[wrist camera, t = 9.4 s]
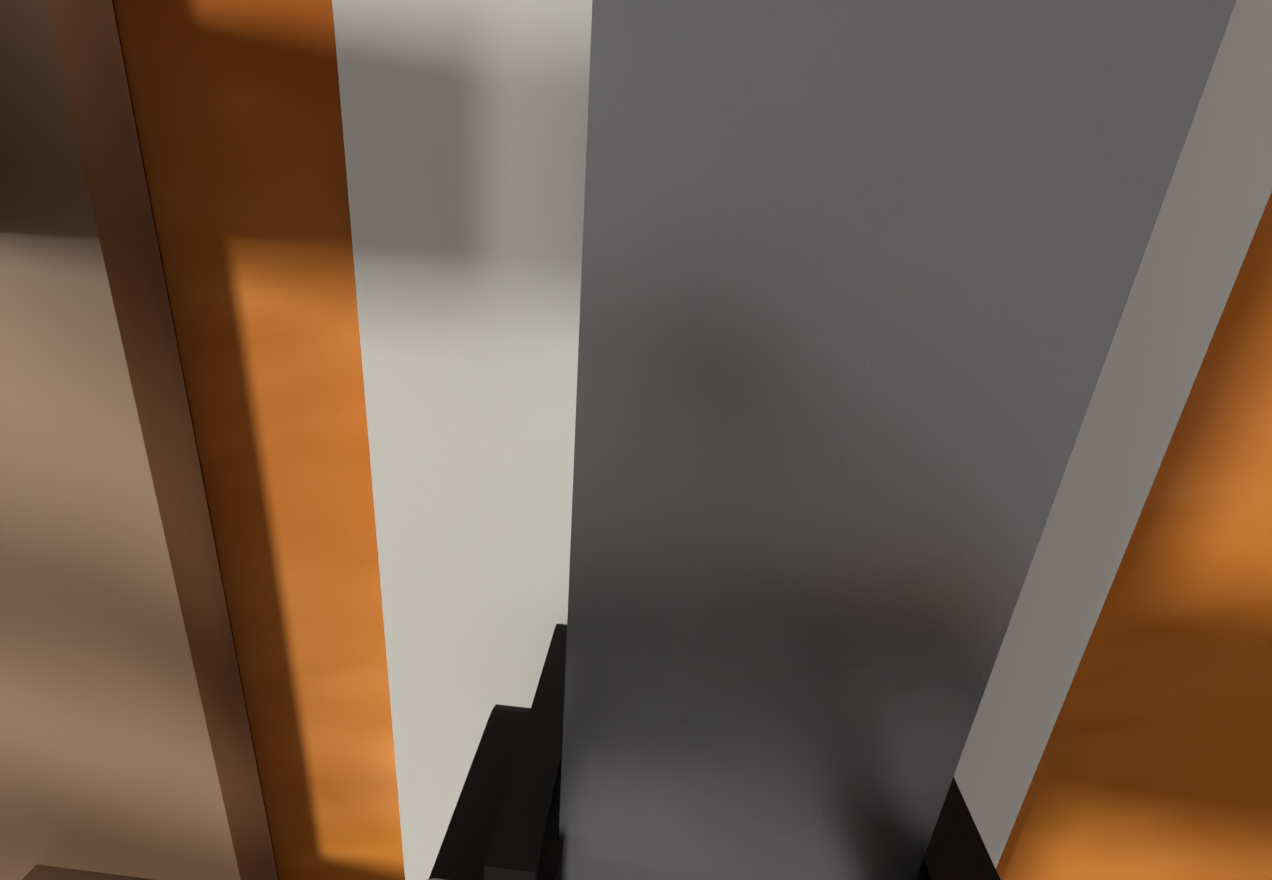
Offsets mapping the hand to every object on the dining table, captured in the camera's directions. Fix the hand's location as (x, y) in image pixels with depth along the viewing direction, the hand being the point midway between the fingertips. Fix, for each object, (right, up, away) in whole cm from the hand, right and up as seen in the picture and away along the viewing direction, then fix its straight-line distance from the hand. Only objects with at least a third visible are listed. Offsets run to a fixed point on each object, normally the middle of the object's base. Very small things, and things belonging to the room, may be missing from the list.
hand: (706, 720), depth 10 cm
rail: (0, 0, 0) cm, 0 cm away
